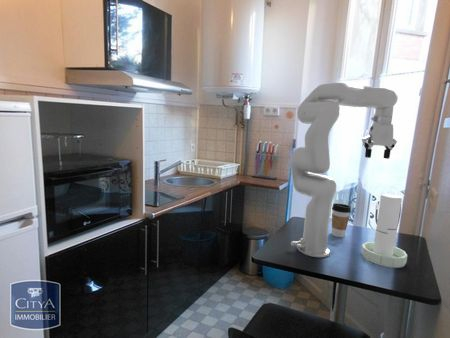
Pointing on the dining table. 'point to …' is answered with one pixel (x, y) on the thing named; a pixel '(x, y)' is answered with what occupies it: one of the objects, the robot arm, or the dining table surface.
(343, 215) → the coffee cup
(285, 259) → the dining table surface
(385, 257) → the dish
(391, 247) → the cylindrical container
